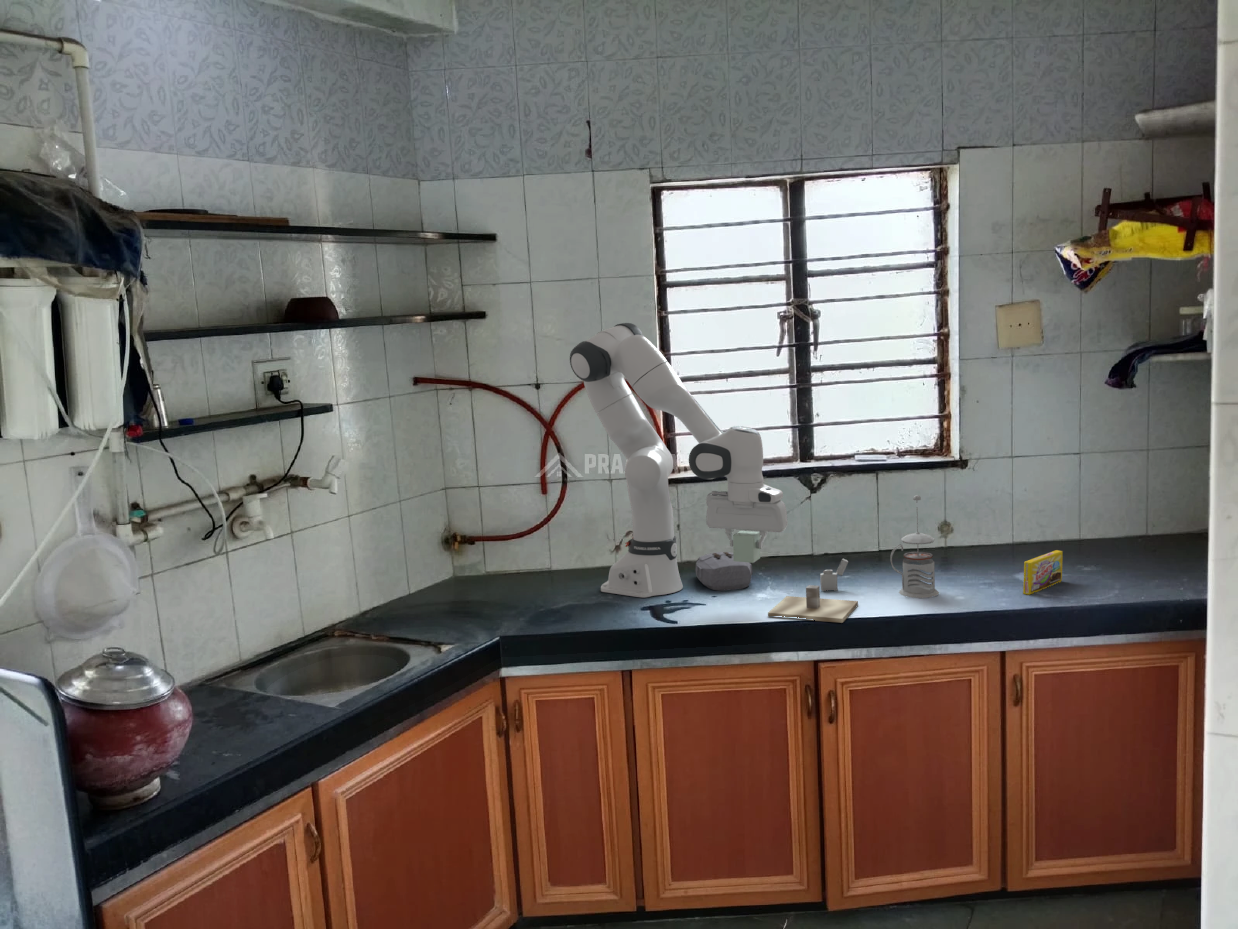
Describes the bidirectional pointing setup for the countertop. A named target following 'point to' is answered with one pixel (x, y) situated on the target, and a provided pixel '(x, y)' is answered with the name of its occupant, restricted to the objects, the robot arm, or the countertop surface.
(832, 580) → the lighter
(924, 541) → the french press
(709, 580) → the grey rounded bag
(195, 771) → the countertop surface
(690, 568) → the countertop surface
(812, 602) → the post stand
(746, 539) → the pale sage rectangular block
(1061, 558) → the candy box
